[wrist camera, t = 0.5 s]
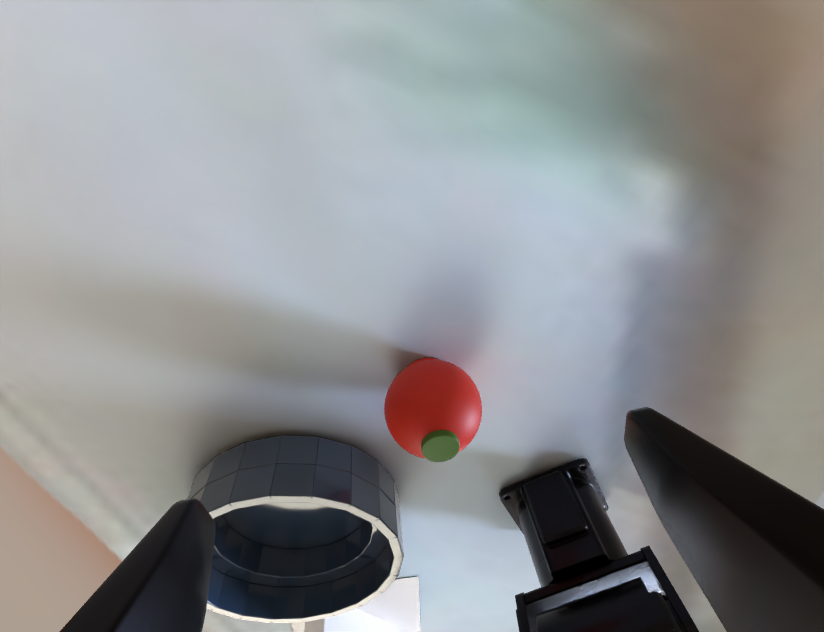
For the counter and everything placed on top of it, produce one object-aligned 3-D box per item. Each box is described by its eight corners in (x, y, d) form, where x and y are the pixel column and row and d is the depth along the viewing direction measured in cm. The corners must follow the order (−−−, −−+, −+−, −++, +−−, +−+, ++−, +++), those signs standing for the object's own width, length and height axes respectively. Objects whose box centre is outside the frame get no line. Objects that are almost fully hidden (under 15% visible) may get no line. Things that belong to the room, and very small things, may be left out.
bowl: (429, 514, 32) (438, 578, 28) (275, 575, 34) (264, 642, 30) (328, 397, 25) (323, 461, 21) (144, 482, 27) (110, 554, 24)
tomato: (483, 387, 26) (508, 459, 22) (407, 421, 27) (416, 496, 22) (448, 326, 23) (469, 393, 19) (365, 365, 24) (367, 438, 20)
